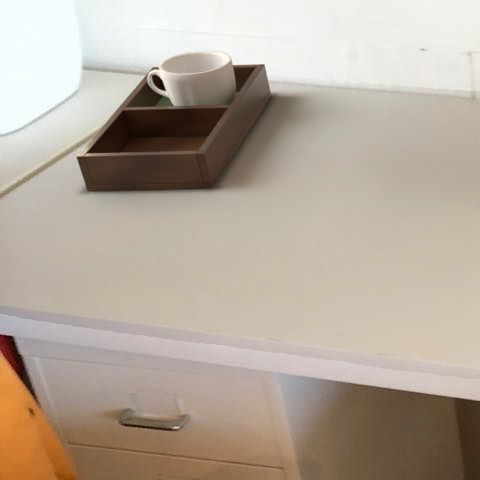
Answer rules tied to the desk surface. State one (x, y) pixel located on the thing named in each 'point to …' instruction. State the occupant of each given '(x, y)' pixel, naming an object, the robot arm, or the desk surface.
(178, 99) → the teacup
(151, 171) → the wooden compartment tray
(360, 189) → the desk surface
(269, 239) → the desk surface
